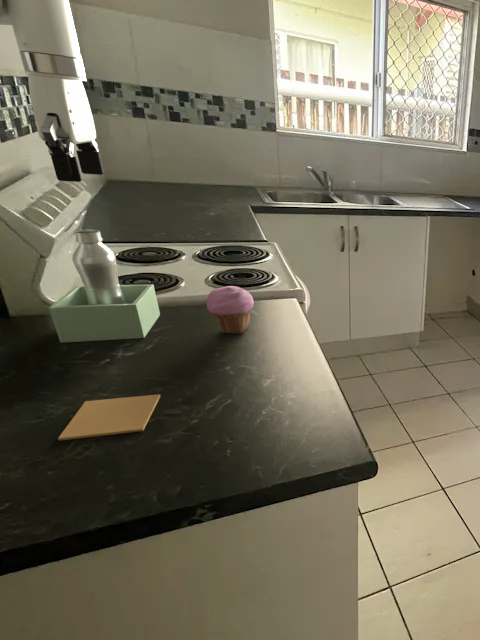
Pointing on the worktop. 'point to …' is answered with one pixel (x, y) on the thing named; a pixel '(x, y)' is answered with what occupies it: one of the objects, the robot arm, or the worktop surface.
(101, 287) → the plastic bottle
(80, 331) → the bin
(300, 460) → the worktop surface
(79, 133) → the robot arm
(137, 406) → the mat
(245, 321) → the cupcake
